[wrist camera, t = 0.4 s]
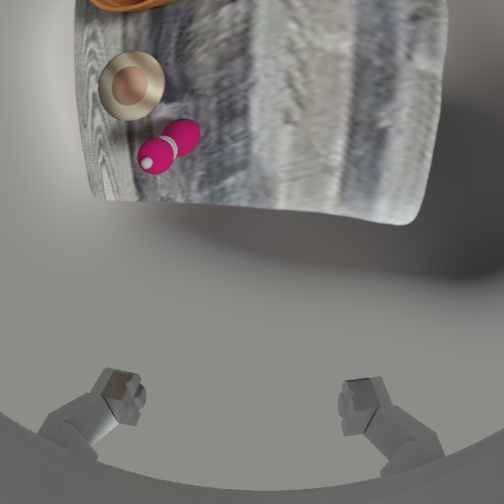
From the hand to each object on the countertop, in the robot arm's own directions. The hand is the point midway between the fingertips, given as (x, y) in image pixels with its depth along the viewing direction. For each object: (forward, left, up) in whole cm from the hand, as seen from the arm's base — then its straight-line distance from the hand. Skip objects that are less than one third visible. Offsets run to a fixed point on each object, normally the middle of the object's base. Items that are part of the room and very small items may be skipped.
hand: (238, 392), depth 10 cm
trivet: (+13, -29, -51) cm, 60 cm away
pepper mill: (+14, -12, -51) cm, 54 cm away
